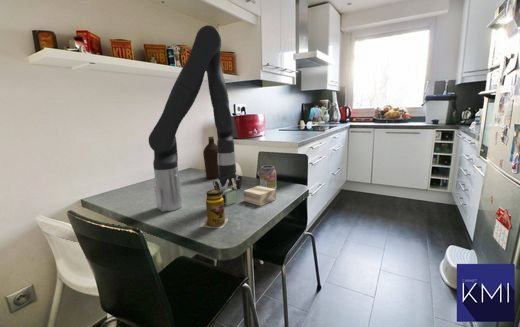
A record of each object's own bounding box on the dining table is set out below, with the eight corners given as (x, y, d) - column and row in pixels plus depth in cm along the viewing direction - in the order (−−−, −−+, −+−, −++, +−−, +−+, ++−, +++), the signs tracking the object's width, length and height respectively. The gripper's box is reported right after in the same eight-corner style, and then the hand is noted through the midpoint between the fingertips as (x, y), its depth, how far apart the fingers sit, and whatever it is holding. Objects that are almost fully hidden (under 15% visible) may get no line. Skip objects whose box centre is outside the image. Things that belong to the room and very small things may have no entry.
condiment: (222, 228, 84) (220, 194, 81) (198, 227, 85) (195, 194, 83) (228, 219, 91) (226, 188, 88) (206, 218, 92) (204, 187, 90)
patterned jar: (264, 194, 118) (263, 169, 115) (255, 190, 124) (254, 166, 122) (279, 190, 122) (279, 166, 120) (270, 186, 129) (269, 164, 127)
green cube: (227, 205, 105) (226, 193, 104) (221, 202, 109) (220, 191, 108) (237, 202, 108) (236, 191, 107) (230, 199, 112) (229, 188, 111)
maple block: (260, 206, 103) (260, 195, 102) (244, 201, 110) (243, 190, 109) (275, 200, 110) (275, 189, 109) (259, 195, 117) (259, 185, 116)
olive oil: (220, 179, 148) (217, 137, 143) (203, 179, 149) (199, 137, 144) (224, 175, 158) (221, 135, 153) (208, 175, 159) (205, 136, 154)
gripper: (216, 166, 98) (219, 207, 101) (245, 161, 107) (247, 198, 110) (207, 164, 103) (210, 203, 107) (235, 159, 113) (237, 195, 116)
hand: (229, 200), depth 108 cm, fingers closed on green cube, 5 cm apart
